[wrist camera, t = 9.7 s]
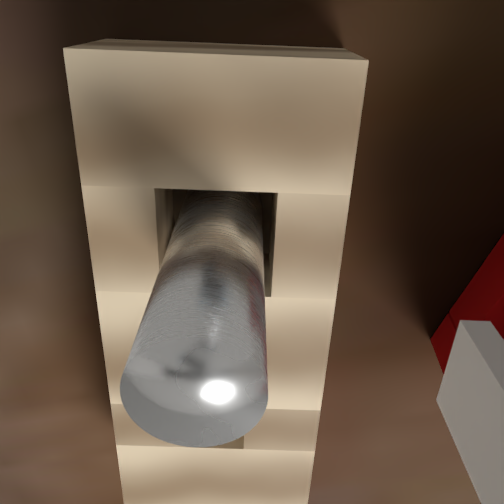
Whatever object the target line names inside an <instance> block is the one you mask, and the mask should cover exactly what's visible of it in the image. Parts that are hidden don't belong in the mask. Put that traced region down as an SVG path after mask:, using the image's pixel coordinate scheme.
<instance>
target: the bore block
mask: <svg viewBox="0 0 504 504" xmlns="http://www.w3.org/2000/svg"><path fill="white" fill-rule="evenodd" d="M63 53H64V60H65V67H66V75H67V82H68V90H69V97H70V105H71V112H72V120H73V127H74V134H75V142H76V149H77V157H78V164H79V172H80V179H81V187H82V194H83V201H84V209H85V216H86V224H87V231H88V239H89V246H90V254H91V261H92V268H93V276H94V283H95V291H96V298H97V306H98V313H99V321H100V328H101V336H102V343H103V350H104V358H105V365H106V373H107V380H108V388H109V395H110V403H111V410H112V417H113V425H114V432H115V440H116V447H117V455H118V462H119V470H120V477H121V484H122V492H123V499H124V504H308V497H309V490H310V483H311V476H312V468H313V461H314V454H315V447H316V439H317V432H318V425H319V418H320V411H321V403H322V396H323V389H324V382H325V374H326V367H327V360H328V353H329V345H330V338H331V331H332V324H333V316H334V309H335V302H336V295H337V288H338V280H339V273H340V266H341V259H342V251H343V244H344V237H345V230H346V222H347V215H348V208H349V201H350V193H351V186H352V179H353V172H354V165H355V157H356V150H357V143H358V136H359V128H360V121H361V114H362V107H363V99H364V92H365V85H366V78H367V70H368V63H369V60H367V59H365V58H363V57H361V56H359V55H357V54H355V53H353V52H351V51H349V50H347V49H344V48H324V47H299V46H274V45H249V44H224V43H199V42H174V41H148V40H123V39H103V40H98V41H94V42H89V43H84V44H80V45H75V46H70V47H66V48H63ZM189 189H190V190H217V191H245V192H258V193H259V196H260V199H261V204H262V232H263V260H264V289H265V318H266V346H267V375H268V402H267V407H266V410H265V412H264V414H263V416H262V418H261V419H260V421H259V422H258V423H257V425H256V426H255V427H254V428H253V429H252V430H250V431H249V432H248V433H246V434H245V435H243V436H241V437H240V438H238V439H236V440H233V441H231V442H228V443H225V444H222V445H217V446H211V447H185V446H179V445H175V444H171V443H168V442H165V441H162V440H160V439H158V438H156V437H154V436H152V435H150V434H149V433H147V432H145V431H144V430H143V429H141V428H140V427H139V426H138V425H137V424H136V423H135V422H134V421H133V420H132V419H131V418H130V416H129V415H128V413H127V412H126V410H125V408H124V406H123V403H122V401H121V396H120V381H121V377H122V374H123V371H124V368H125V365H126V362H127V360H128V357H129V354H130V351H131V348H132V346H133V343H134V340H135V337H136V334H137V332H138V329H139V326H140V323H141V320H142V318H143V315H144V312H145V309H146V306H147V303H148V301H149V298H150V295H151V292H152V289H153V287H154V284H155V281H156V278H157V275H158V273H159V270H160V267H161V264H162V261H163V259H164V256H165V253H166V250H167V247H168V244H169V242H170V239H171V236H172V233H173V230H174V228H175V225H176V222H177V219H178V216H179V214H180V211H181V208H182V205H183V202H184V200H185V197H186V194H187V192H188V190H189Z"/></svg>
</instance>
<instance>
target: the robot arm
mask: <svg viewBox="0 0 504 504" xmlns="http://www.w3.org/2000/svg"><path fill="white" fill-rule="evenodd" d="M436 401H437V403H438V405H439V408H440V410H441V412H442V415H443V417H444V419H445V421H446V424H447V426H448V428H449V431H450V433H451V435H452V438H453V440H454V442H455V444H456V447H457V449H458V451H459V454H460V456H461V458H462V461H463V463H464V465H465V467H466V470H467V472H468V474H469V477H470V479H471V481H472V484H473V486H474V488H475V490H476V493H477V495H478V497H479V500H480V502H481V504H504V340H503V338H502V337H501V336H500V334H499V333H498V331H497V330H496V329H495V327H494V326H493V324H492V323H491V321H470V320H460V322H459V326H458V329H457V332H456V336H455V339H454V342H453V346H452V349H451V352H450V356H449V359H448V362H447V366H446V369H445V373H444V376H443V379H442V383H441V386H440V389H439V393H438V396H437V399H436Z"/></svg>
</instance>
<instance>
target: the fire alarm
mask: <svg viewBox="0 0 504 504" xmlns="http://www.w3.org/2000/svg"><path fill="white" fill-rule="evenodd" d="M449 313H450V314H447V315H446V317H445V318H444V320H443V321H442V323H441V324H440V326H439V327H438V329H437V330H436V332H435V333H434V335H433V336H432V338H431V339H430V340H431V342H432V345H433V348H434V350H435V353H436V356H437V358H438V361H439V364H440V366H441V369H442V372H443V374H444V373H445V369H446V366H447V362H448V359H449V356H450V352H451V349H452V346H453V342H454V339H455V336H456V332H457V329H458V326H459V322H460V320H470V321H491V323H492V324H493V326H494V327H495V329H496V330H497V331H498V333H499V334H500V336H501V337H502V338H503V340H504V234H503V235H502V237H501V238H500V240H499V241H498V242H497V244H496V245H495V247H494V248H493V250H492V251H491V253H490V254H489V255H488V257H487V258H486V260H485V261H484V263H483V264H482V266H481V267H480V268H479V270H478V271H477V273H476V274H475V276H474V277H473V278H472V280H471V281H470V283H469V284H468V286H467V287H466V288H465V290H464V291H463V293H462V294H461V296H460V297H459V298H458V300H457V301H456V303H455V304H454V305H453V307H452V308H451V310H450V311H449Z"/></svg>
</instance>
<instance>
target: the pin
mask: <svg viewBox="0 0 504 504" xmlns="http://www.w3.org/2000/svg"><path fill="white" fill-rule="evenodd" d="M120 396H121V401H122V403H123V406H124V408H125V410H126V412H127V413H128V415H129V416H130V418H131V419H132V420H133V421H134V422H135V423H136V424H137V425H138V426H139V427H140V428H141V429H143V430H144V431H145V432H147V433H149V434H150V435H152V436H154V437H156V438H158V439H160V440H162V441H165V442H168V443H171V444H175V445H179V446H185V447H211V446H217V445H222V444H225V443H228V442H231V441H233V440H236V439H238V438H240V437H241V436H243V435H245V434H246V433H248V432H249V431H250V430H252V429H253V428H254V427H255V426H256V425H257V423H258V422H259V421H260V419H261V418H262V416H263V414H264V412H265V410H266V407H267V402H268V375H267V346H266V318H265V289H264V260H263V232H262V204H261V199H260V196H259V193H258V192H245V191H217V190H190V189H189V190H188V192H187V194H186V197H185V200H184V202H183V205H182V208H181V211H180V214H179V216H178V219H177V222H176V225H175V228H174V230H173V233H172V236H171V239H170V242H169V244H168V247H167V250H166V253H165V256H164V259H163V261H162V264H161V267H160V270H159V273H158V275H157V278H156V281H155V284H154V287H153V289H152V292H151V295H150V298H149V301H148V303H147V306H146V309H145V312H144V315H143V318H142V320H141V323H140V326H139V329H138V332H137V334H136V337H135V340H134V343H133V346H132V348H131V351H130V354H129V357H128V360H127V362H126V365H125V368H124V371H123V374H122V377H121V381H120Z"/></svg>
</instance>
